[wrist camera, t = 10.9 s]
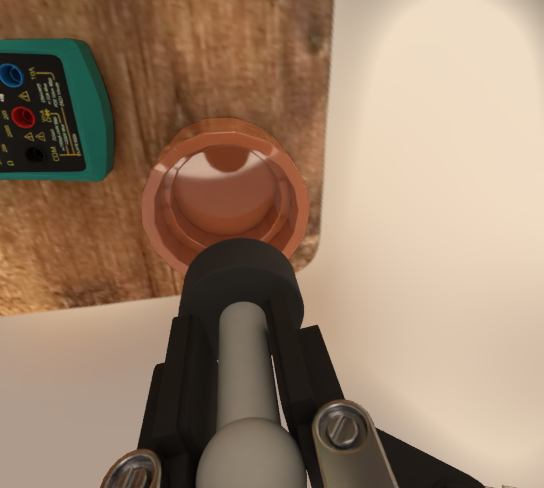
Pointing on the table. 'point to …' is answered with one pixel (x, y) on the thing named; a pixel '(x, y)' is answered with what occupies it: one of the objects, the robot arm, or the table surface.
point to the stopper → (244, 363)
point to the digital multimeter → (53, 112)
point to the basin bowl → (222, 192)
